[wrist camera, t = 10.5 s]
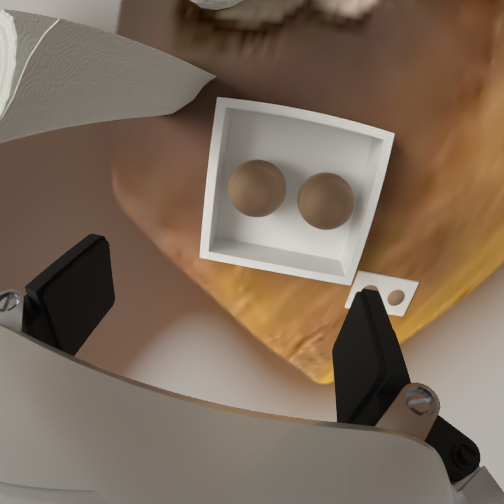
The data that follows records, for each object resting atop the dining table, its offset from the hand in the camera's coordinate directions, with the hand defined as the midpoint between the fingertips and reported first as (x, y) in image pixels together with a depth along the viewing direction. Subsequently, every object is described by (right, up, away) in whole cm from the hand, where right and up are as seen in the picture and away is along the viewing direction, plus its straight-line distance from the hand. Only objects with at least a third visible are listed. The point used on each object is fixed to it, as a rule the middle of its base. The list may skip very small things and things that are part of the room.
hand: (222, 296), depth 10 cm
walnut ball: (+1, +7, +15) cm, 16 cm away
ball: (+7, +6, +14) cm, 17 cm away
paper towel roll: (-7, +17, +14) cm, 24 cm away
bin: (+5, +8, +17) cm, 20 cm away
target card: (+16, -3, +21) cm, 27 cm away
